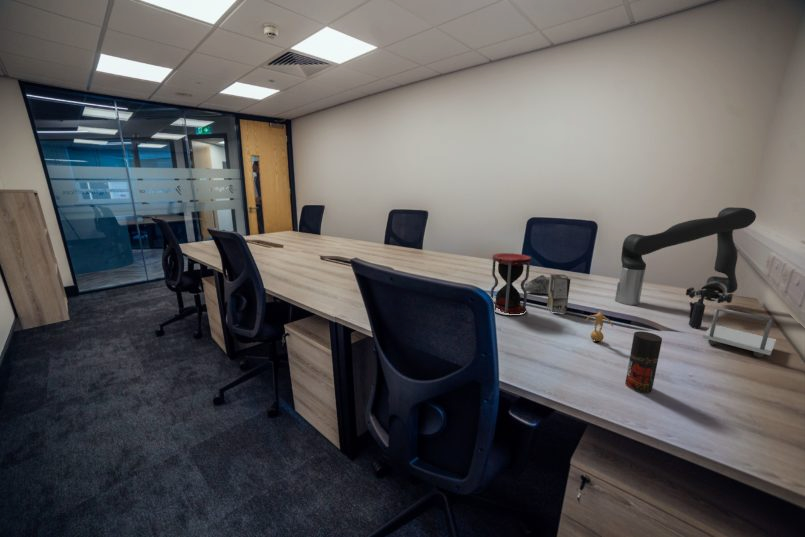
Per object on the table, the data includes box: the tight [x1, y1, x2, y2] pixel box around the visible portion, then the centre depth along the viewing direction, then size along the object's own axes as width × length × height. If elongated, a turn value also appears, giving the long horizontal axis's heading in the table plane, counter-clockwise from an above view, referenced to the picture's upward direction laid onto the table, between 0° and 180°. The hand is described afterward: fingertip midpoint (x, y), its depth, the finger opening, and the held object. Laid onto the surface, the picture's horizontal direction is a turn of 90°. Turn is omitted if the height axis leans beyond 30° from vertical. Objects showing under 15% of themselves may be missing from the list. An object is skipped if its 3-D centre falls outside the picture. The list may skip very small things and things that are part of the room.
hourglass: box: [490, 252, 532, 314], centre depth 144 cm, size 16×16×25 cm
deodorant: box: [624, 331, 663, 394], centre depth 86 cm, size 6×6×15 cm
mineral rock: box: [524, 274, 550, 295], centre depth 172 cm, size 13×11×10 cm
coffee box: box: [546, 273, 571, 314], centre depth 144 cm, size 9×6×16 cm
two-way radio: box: [688, 291, 706, 329], centre depth 128 cm, size 6×4×15 cm
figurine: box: [585, 311, 614, 342], centre depth 113 cm, size 8×6×12 cm
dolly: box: [702, 307, 777, 358], centre depth 110 cm, size 16×15×14 cm
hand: (705, 298), depth 134 cm, fingers open, 8 cm apart
